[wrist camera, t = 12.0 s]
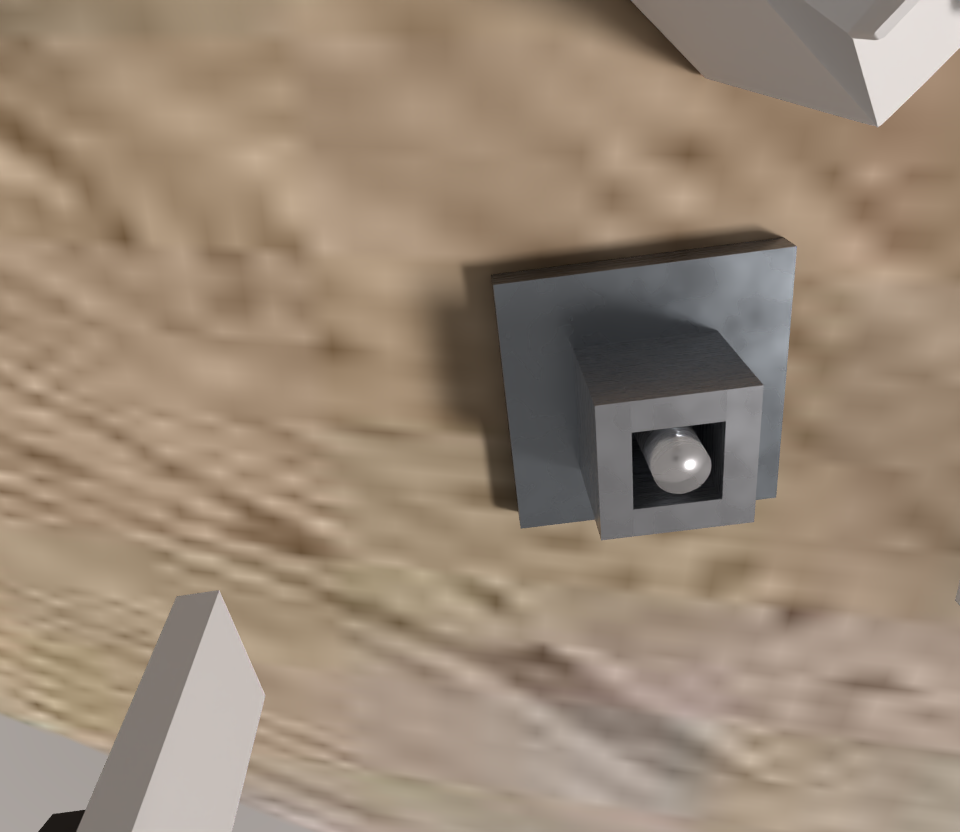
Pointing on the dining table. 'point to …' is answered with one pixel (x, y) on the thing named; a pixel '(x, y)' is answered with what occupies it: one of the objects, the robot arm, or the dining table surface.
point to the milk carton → (815, 48)
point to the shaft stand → (629, 317)
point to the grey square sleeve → (659, 405)
